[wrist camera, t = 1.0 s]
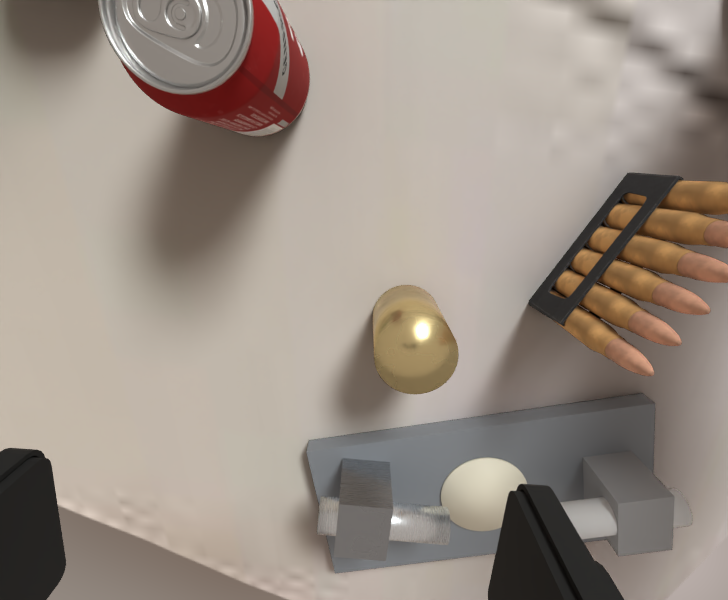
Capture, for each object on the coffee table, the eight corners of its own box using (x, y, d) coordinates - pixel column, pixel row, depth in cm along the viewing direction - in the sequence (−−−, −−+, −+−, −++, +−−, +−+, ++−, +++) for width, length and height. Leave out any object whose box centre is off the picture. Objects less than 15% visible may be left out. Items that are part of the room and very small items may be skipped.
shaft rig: (642, 393, 33) (704, 443, 27) (640, 519, 36) (695, 589, 30) (308, 440, 34) (296, 497, 28) (336, 557, 37) (330, 631, 31)
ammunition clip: (547, 316, 31) (652, 400, 20) (527, 303, 31) (622, 380, 19) (649, 187, 29) (840, 196, 17) (628, 171, 28) (808, 170, 17)
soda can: (297, 150, 28) (248, 134, 16) (194, 119, 28) (70, 81, 16) (323, 37, 26) (288, -70, 15) (213, 2, 26) (88, -137, 14)
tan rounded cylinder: (434, 280, 30) (453, 310, 24) (442, 342, 32) (462, 387, 25) (367, 290, 31) (367, 323, 24) (378, 352, 32) (380, 399, 25)
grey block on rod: (442, 466, 33) (455, 514, 28) (434, 513, 34) (445, 566, 30) (325, 456, 33) (319, 502, 28) (321, 503, 34) (314, 555, 29)
